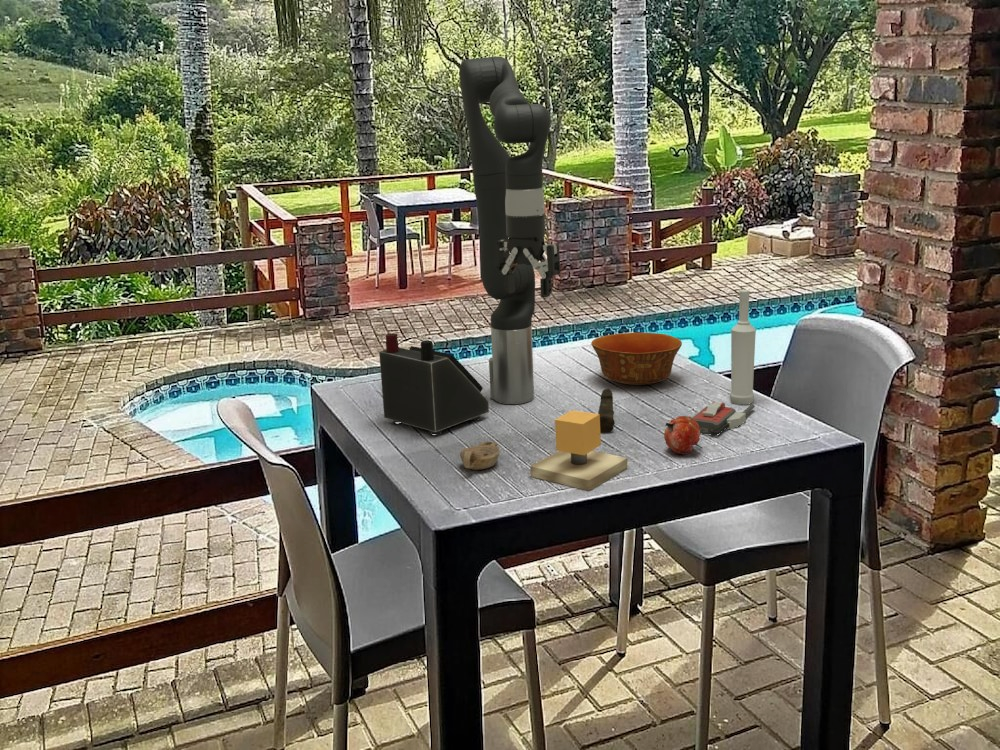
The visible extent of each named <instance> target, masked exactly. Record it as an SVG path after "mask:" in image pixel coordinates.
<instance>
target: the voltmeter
mask: <svg viewBox="0 0 1000 750" xmlns="http://www.w3.org/2000/svg"><path fill="white" fill-rule="evenodd" d="M385 346H386V348H385V349H383V350H379V351H378V354H379V367H380V377H381V378H380V380H381V391H382V392H381V394H382V406H383V418H384V419H388V420H391V421H392V422H393V423H394V422H401V423H402V424H405V425H408V426H412V427H416V428H418V429H419V428H420V429H423V430H426V431H429V432H430V434H431V433H432V434H440V433H441V434H442V431H443V430H445V429H448V428H451V427H453V426H456V425H459V424H461V423H464V422H466V421H469V420H471V419H472V420H471V421H479V420H480V419H481V416H482V415H485V414H488V413H490V401H489V400H488V399H487V397H485V395H484V394H483V393H482V390H483V389H484V387H483V386H482V385H481V384H480V383H479V381H478V380H477V379H476V378H475V377H474V376H473V375H472V373H470V371H468V369H467V368H466V367H465V366H464V365H463V364H462V363H461V362H460V361H459V360H458V359H457V358H456V357H455V356H454V355H453V354H451V353H446V352H443V351H439V350H438V351H437V350H434V346H433V341H432V340H422V341H420V347H418V346H413V345H412V346H410V347H409V349H408V348H403V347H400V346H399V340H398V333H387V334H386V335H385ZM478 419H479V420H478ZM441 434H440V435H441Z"/></svg>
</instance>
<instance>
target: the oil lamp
mask: <svg viewBox="0 0 1000 750" xmlns="http://www.w3.org/2000/svg"><path fill="white" fill-rule="evenodd" d="M499 455H500V447H499V445H498V443H497V442H494V441H483V442H479V445H471V446H470V447H467V448H463V449H462V450H460V452H459V456H460V459H461V462H462V464H463V467H464V468H466V469H470V470H472V471H473V470H474V471H479V470H486V469H489V468H492V467H493V466H494V465H495V464H496V463H497V462H498V458H499Z"/></svg>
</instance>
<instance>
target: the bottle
mask: <svg viewBox="0 0 1000 750" xmlns="http://www.w3.org/2000/svg"><path fill="white" fill-rule="evenodd" d="M738 293H739V295H738V296H739V298H738V299H739V306H738V307H739V309H738V310H739V311H738V321H737V323H736V324H735V325H734V326H733V327H731V330H730V334H731V335H730V337H731V338H730V339H731V340H730V342H731V343H730V348H731V350H730V351H731V354H730V358H731V359H730V360H731V361H730V362H731V363H730V367H731V370H730V373H731V375H730V376H731V377H730V378H731V379H730V382H731V383H730V385H731V387H730V388H731V389H730V393H729V400H730V402H731V404H733V403H734V404H733V405H737V404H748V405H750V404H749V403H751V404H753V402H754V400H755V399H754V398H755V397H754V396H755V394H754V373H755V354H756V353H755V351H756V350H755V349H756V334H757V333H756V331H757V329H756V328H755V327H754V326H753V325H752V324H751V321H749V313H750V312H749V310H750V290H749V289H740V290H739V292H738Z"/></svg>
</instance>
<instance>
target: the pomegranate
mask: <svg viewBox="0 0 1000 750" xmlns="http://www.w3.org/2000/svg"><path fill="white" fill-rule="evenodd" d="M664 427H666V428H665V430H664V433H663V438H664V441H665V445H666V446H667V447H668V448H669V449H671V450H672V451H673V452H674V453H677V454H679V455H688V454H690V453H691V452H692V451H693V448H694V447H693V446H697V447H698V448H700V449H701V448H702V449H703V447H702V446H701V445H699V444H698V443H699V442H700V436H701V434H700V429H699V425H698V423H697V422H696V420H695V419H693V416H690V415H679V416H677V417H676V418H673V419H671V420H670V421H669V422H666V423H665V425H664Z"/></svg>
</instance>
